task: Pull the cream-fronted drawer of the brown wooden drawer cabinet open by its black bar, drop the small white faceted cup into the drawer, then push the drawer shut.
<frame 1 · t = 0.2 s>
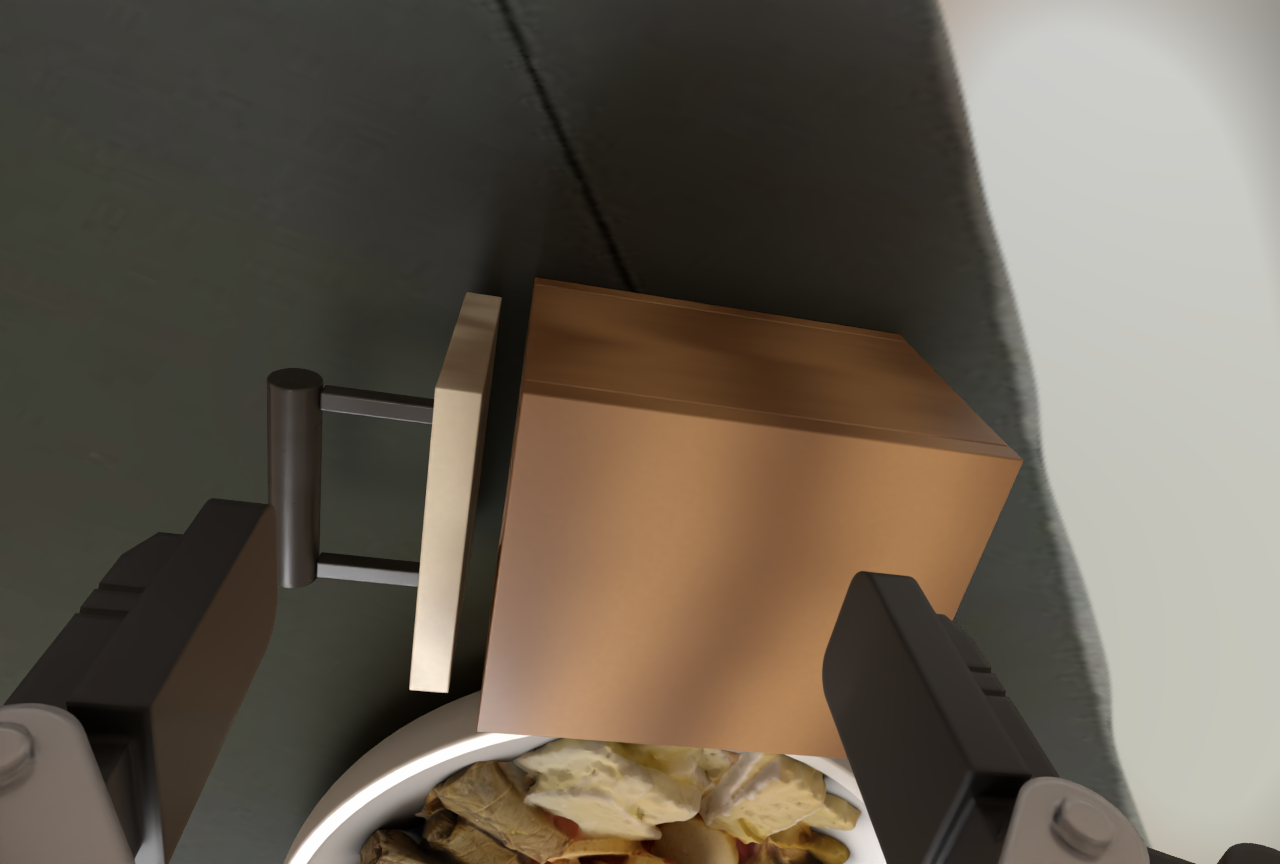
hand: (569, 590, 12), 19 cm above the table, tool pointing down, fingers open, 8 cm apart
bowl: (600, 852, 44), on the table
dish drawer: (555, 496, 28), point 5 cm above the table, slide at 1.0 cm
brown wooden drawer cabinet: (689, 446, 33), on the table
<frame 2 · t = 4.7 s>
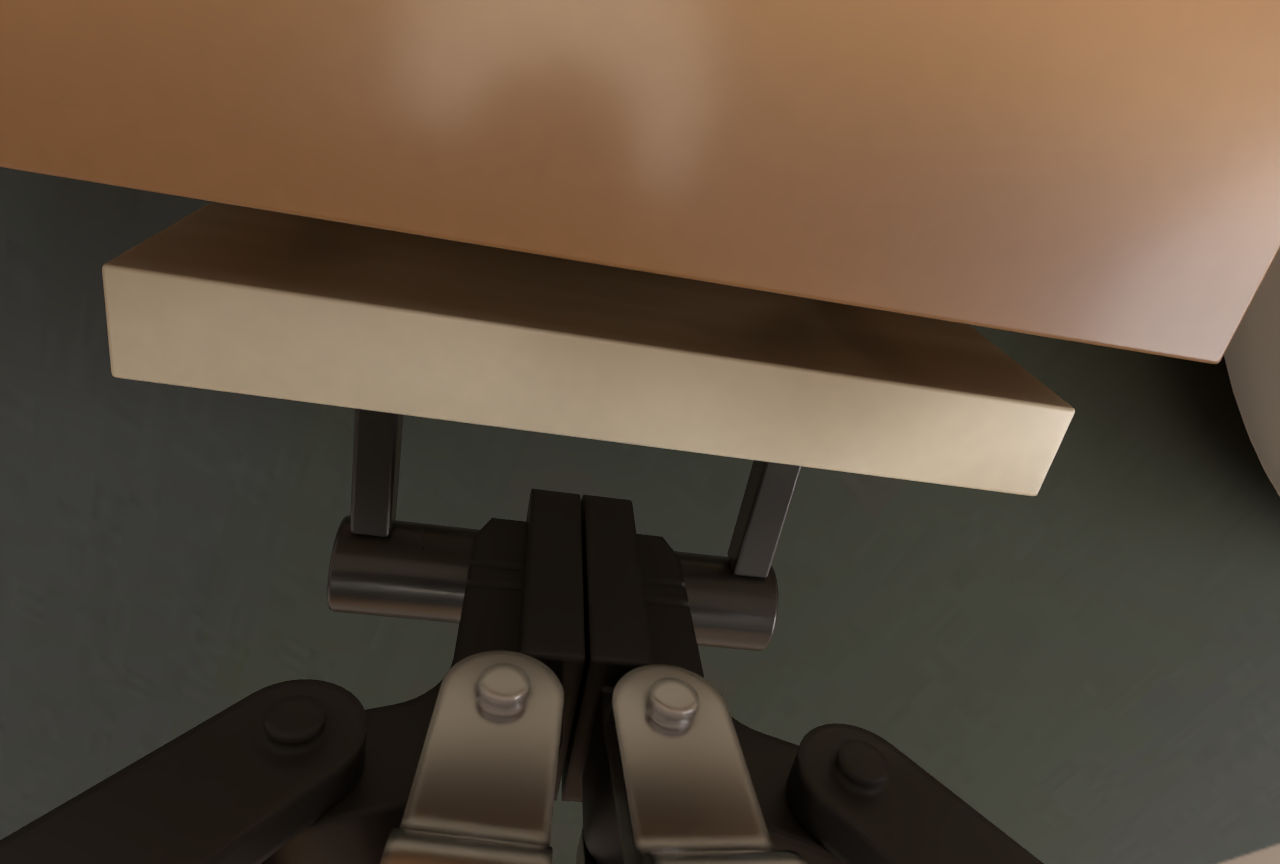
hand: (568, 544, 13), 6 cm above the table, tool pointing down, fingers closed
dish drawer: (646, 57, 11), point 5 cm above the table, slide at 1.0 cm, touching gripper
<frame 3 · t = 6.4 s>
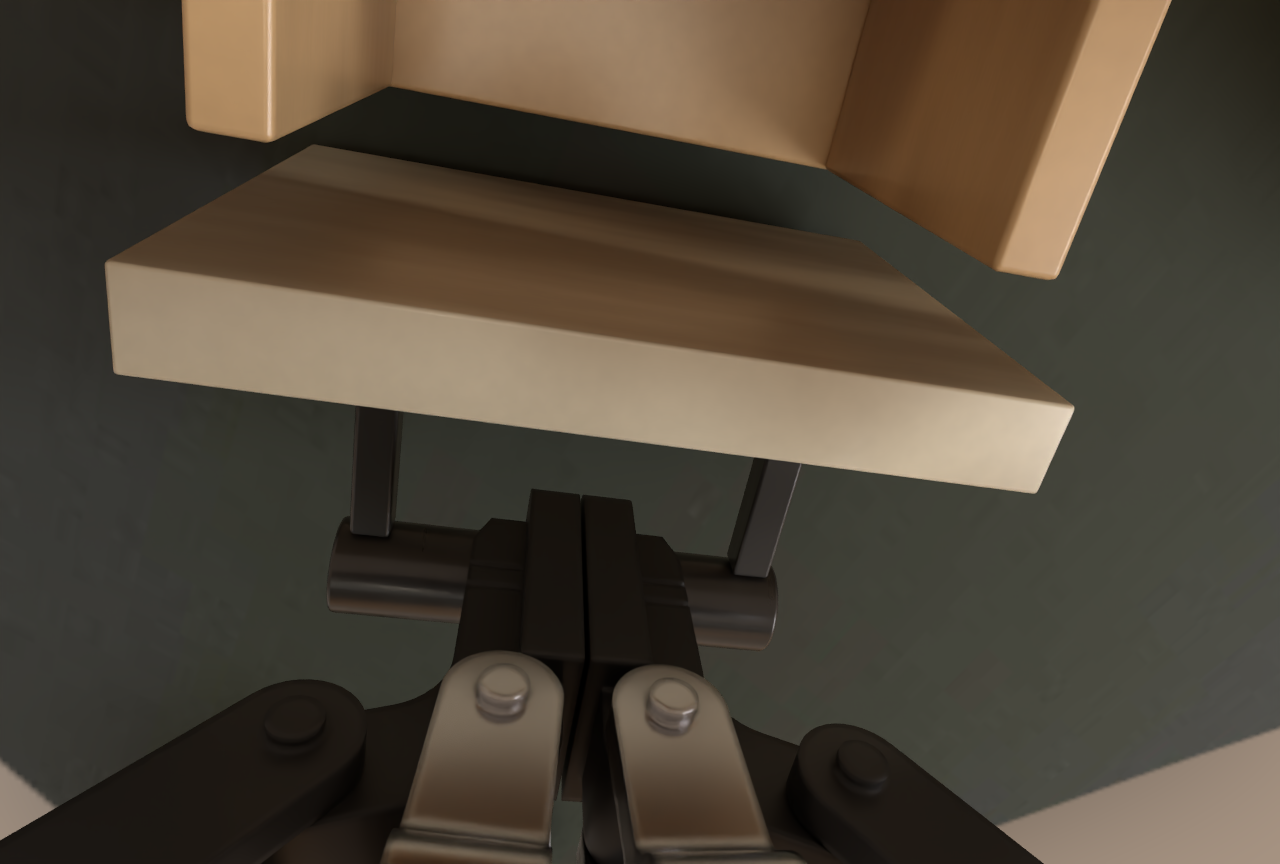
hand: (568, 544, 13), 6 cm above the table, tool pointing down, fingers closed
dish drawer: (647, 58, 11), point 5 cm above the table, slide at 7.9 cm, touching gripper
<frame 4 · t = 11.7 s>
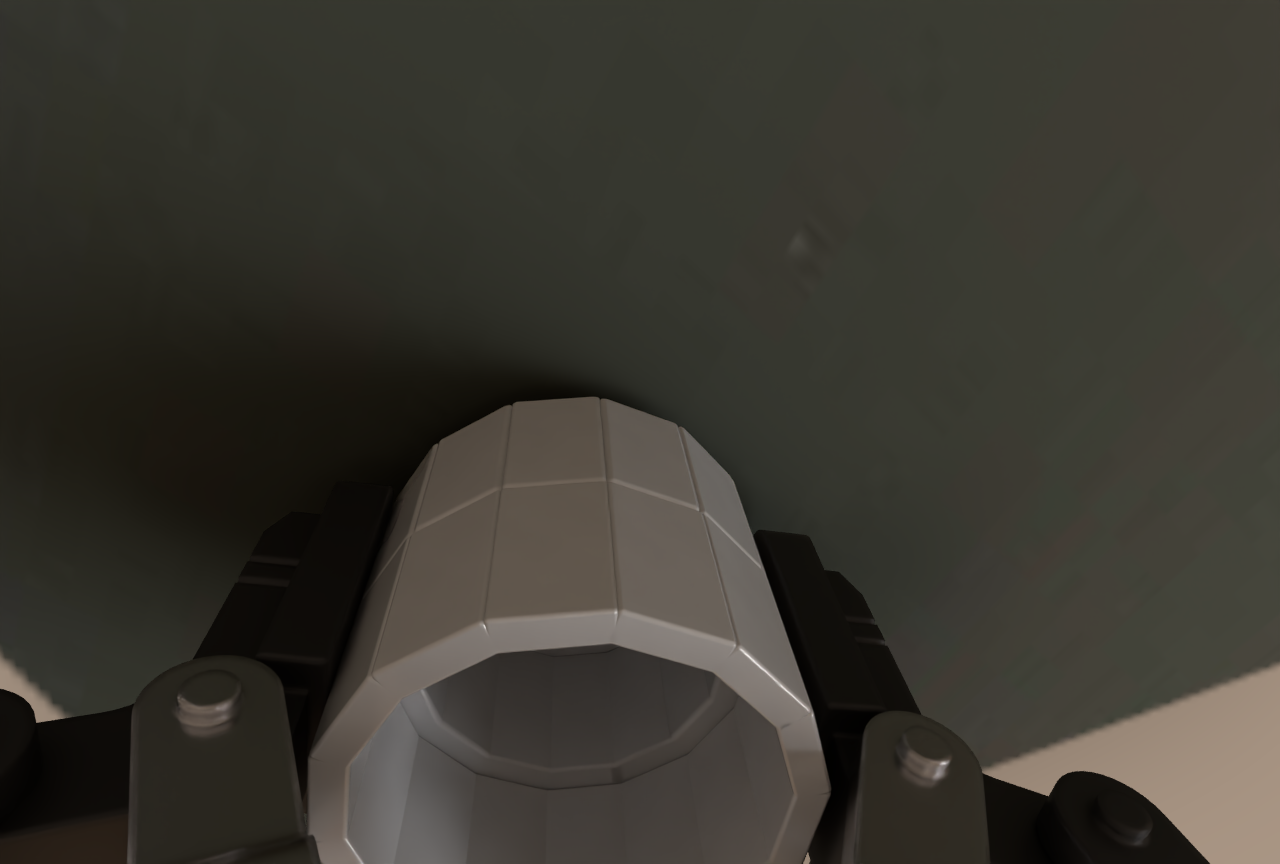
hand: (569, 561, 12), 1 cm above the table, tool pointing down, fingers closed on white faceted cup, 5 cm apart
white faceted cup: (570, 536, 13), on the table, touching gripper
when the fingers open (9 cm above the table, at t = 17.5 s): white faceted cup drops 7 cm, resting on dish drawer.
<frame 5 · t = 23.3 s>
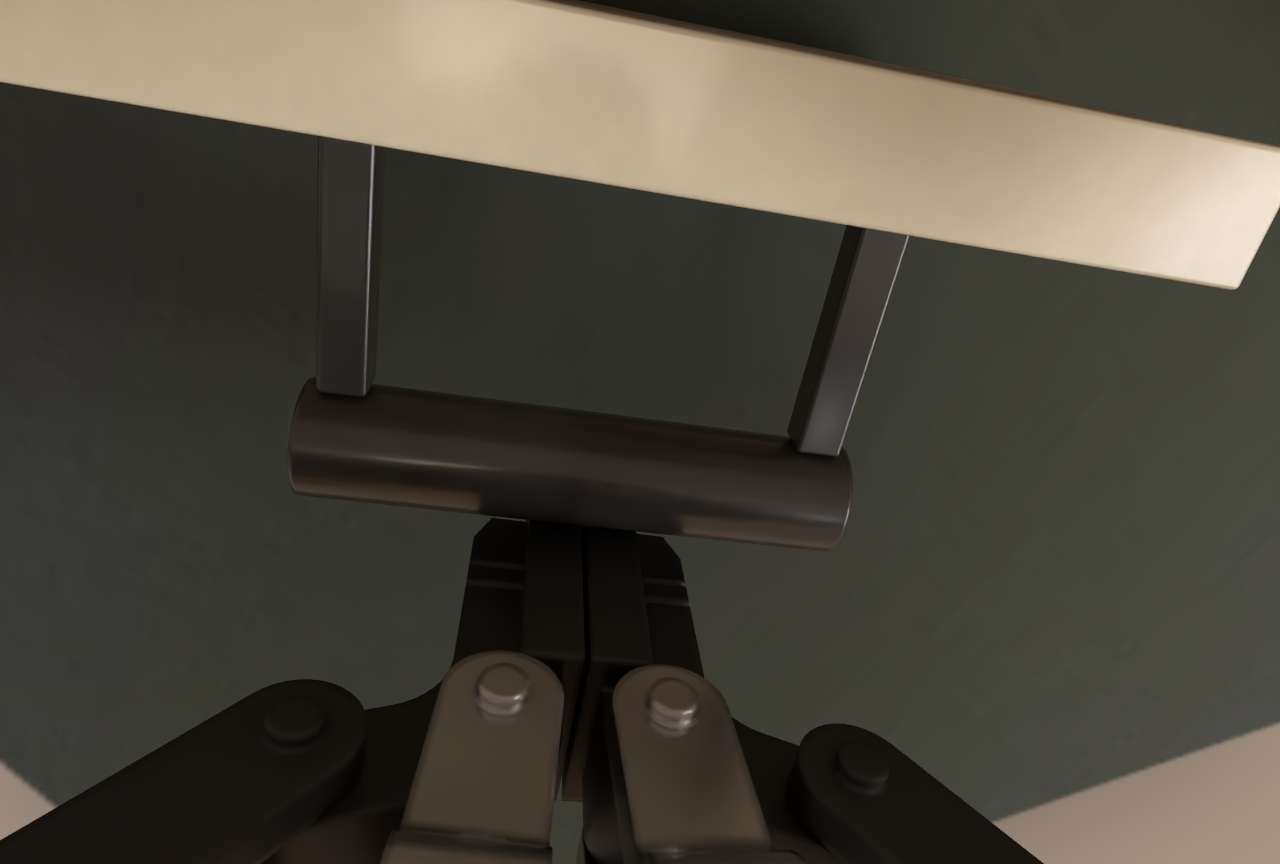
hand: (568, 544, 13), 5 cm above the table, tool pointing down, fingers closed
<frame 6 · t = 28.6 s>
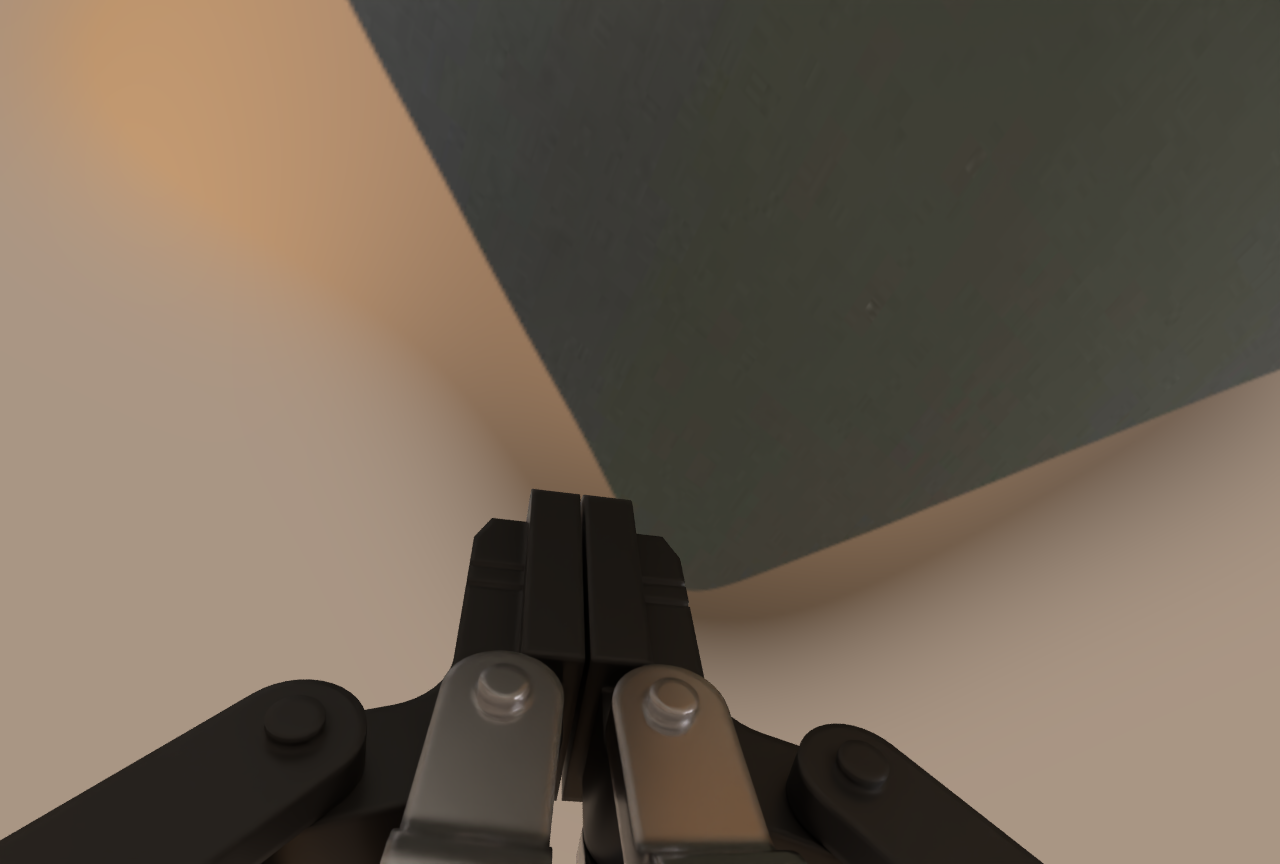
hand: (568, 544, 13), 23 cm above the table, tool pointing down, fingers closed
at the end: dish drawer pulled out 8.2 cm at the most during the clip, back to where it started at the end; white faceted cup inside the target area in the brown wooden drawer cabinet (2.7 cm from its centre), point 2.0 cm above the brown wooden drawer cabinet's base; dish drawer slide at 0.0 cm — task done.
